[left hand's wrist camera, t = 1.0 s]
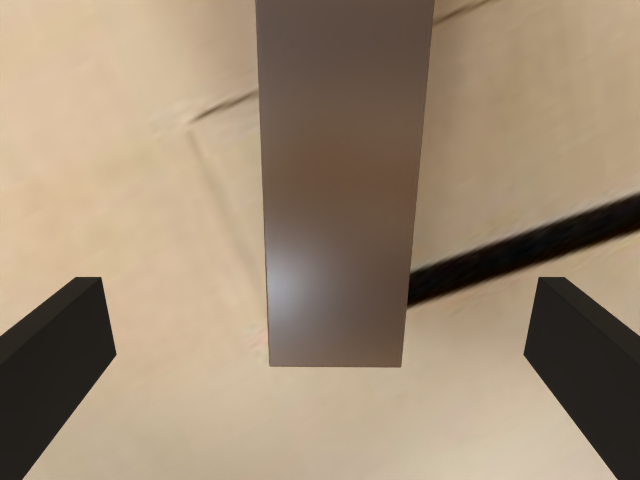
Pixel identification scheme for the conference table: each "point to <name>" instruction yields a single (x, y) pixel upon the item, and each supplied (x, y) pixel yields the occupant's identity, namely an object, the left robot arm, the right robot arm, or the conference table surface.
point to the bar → (340, 174)
